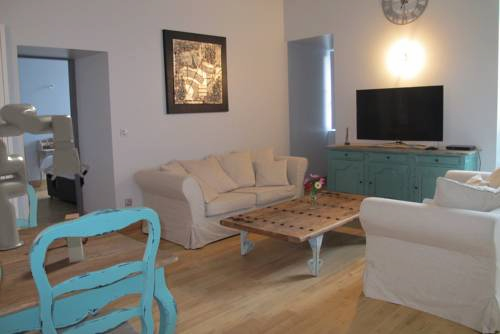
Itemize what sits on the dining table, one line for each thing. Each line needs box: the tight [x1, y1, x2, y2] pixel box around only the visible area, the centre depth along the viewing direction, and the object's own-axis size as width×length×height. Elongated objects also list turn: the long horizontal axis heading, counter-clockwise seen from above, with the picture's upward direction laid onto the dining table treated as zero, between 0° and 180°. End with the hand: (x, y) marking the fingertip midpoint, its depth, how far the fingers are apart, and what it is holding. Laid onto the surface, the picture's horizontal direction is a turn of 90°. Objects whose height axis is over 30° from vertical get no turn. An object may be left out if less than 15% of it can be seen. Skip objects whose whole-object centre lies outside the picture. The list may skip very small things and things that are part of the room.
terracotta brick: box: [64, 212, 80, 221], centre depth 185 cm, size 8×5×6 cm, turn 19°
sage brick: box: [66, 237, 82, 249], centre depth 186 cm, size 8×5×6 cm, turn 19°
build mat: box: [66, 253, 87, 264], centre depth 187 cm, size 9×7×1 cm
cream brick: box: [67, 243, 84, 264], centre depth 187 cm, size 8×5×6 cm, turn 19°
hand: (69, 188), depth 183 cm, fingers open, 9 cm apart
